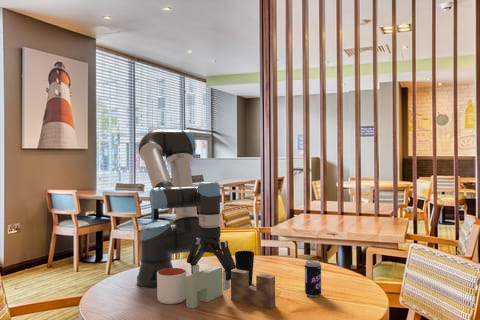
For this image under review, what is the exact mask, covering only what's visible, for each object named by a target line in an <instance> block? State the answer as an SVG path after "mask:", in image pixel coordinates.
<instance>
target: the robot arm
mask: <svg viewBox="0 0 480 320" xmlns="http://www.w3.org/2000/svg"><path fill="white" fill-rule="evenodd" d="M196 146H197V144H196V140H195V137H194V134H193V133H192V132H191V131H190V130H188V129H187V130H185V129H154V130H151V131H149V132H148V133H146V134H145V135H144V136H142V138H141V139H140V141H139V144H138V155H139V157H140V159H141V160H142V161H143V162H144V165H145V168H146V171H147V175H148V177H149V180H150V184H151V186H152V187H151V189H150V191H149V205H150V207H151V208H152V209H154V210H160V209H161V210H166V209H168V210H169V209H175V218H174V219H173V220H172V222H173V224H172V223H171V222H170V221H169V220H168V221H167V220H163V221H162V220H161V221H154V222H151V223H147V224H146V225H143V226H142V228H140V237H139V240H140V259H141V261H140V266H139V269H138V274H137V277H136V284H137V285H138V286H140V287H144V288H157V272H158V271H160V270H162V269H167V268H174V267H173V263H172V255H174V254H175V255H176V254H183V253H184V254H185V253H188V256H187V259H186V263H187V264H190V269H191V275H193V274H195V273H198V272H200V264H199V261H200V260H201V259H202V257H203V256H204V255H205V253H209V254H213V255H214V256H215V257H216V259H217V260H218V262H219V263H220V264H221V267H222V269H223V270H222V282H223V292H224V291H227V290H229V289H230V290H231V271H232V270H234V269H236V262H235V259H234V258H233V256H232V253H231V251H230V248H229V243H228V240H224V241H221V239H220V238H221V236H222V235H221V233H222V232H221V226H220V225H221V190H220V183H219V182H218V181H201V182H199V183H198V185H193V177H192V169H191V163H190V162H191V161H192V160H193V156H194V155H195V154H196V150H197V149H196ZM164 157H165V159H164ZM165 161H166V162H167V163H168V164H169V165H170V172H171V173H170V174H171V176H170V174H169V171H168V168H167V165H166V163H165ZM196 207H197V208H198V213H197V208H196Z"/></svg>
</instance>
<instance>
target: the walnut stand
mask: <svg viewBox="0 0 480 320" xmlns="http://www.w3.org/2000/svg"><path fill="white" fill-rule="evenodd" d="M255 277H256V278H255V280H256V281H255V283H256V285H255V286H253V285H249V271H244V270H239V269H236V268H235V269H233V270H231V280H230V300H231V301H235V302H240V303H244V304H249V305H254V306H257V307H261V308H266V309H269V310H270V309H273V308H274V307H276V275H273V274H267V273H258V274H257V275H255Z"/></svg>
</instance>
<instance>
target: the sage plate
mask: <svg viewBox="0 0 480 320" xmlns="http://www.w3.org/2000/svg"><path fill="white" fill-rule="evenodd" d="M198 292H199V300H200V302H205V303H208V302H211V301H212V300H215V299H217V298H218V297H220V296H223V295H224V293H223V292H224V290H223V266H218V265H214V266H211V267H209V268H206V269H203V270H201V271H199V272H198V273H195V274H189V275H188V276H187V275H186V299H185V300H186V302H185V303H186V305H185V306H186V307H187V308H189V309H195V308H198Z"/></svg>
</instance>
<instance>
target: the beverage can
mask: <svg viewBox="0 0 480 320" xmlns="http://www.w3.org/2000/svg"><path fill="white" fill-rule="evenodd" d="M304 293H305V295H306V296H308V297H310V298H318V297H320V295H321V294H322V265H321V261H319V260H316V259H308V260H305V263H304Z"/></svg>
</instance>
